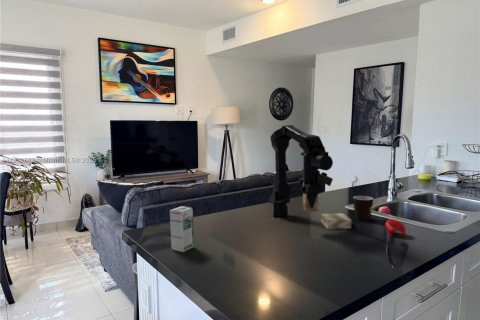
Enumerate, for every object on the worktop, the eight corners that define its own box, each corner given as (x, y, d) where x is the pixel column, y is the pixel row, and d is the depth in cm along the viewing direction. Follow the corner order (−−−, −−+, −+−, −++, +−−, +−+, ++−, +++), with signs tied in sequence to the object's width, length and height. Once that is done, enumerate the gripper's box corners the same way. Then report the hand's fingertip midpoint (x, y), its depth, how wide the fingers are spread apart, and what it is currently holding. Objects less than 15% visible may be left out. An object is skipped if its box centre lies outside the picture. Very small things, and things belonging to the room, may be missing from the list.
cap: (382, 228, 125) (397, 222, 122) (382, 219, 130) (396, 213, 127) (394, 243, 126) (409, 238, 123) (393, 234, 131) (408, 228, 128)
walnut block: (305, 211, 129) (305, 196, 128) (302, 208, 134) (302, 193, 133) (318, 211, 129) (318, 196, 128) (314, 208, 134) (315, 193, 133)
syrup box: (183, 252, 112) (182, 211, 110) (170, 249, 115) (169, 209, 113) (194, 247, 117) (193, 207, 115) (181, 244, 120) (180, 205, 118)
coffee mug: (363, 223, 142) (364, 200, 141) (348, 218, 150) (349, 197, 149) (381, 219, 148) (382, 197, 147) (366, 215, 155) (367, 194, 154)
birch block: (327, 229, 136) (327, 220, 135) (320, 222, 146) (321, 213, 145) (351, 229, 136) (351, 219, 135) (343, 222, 146) (343, 213, 145)
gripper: (338, 170, 120) (337, 211, 122) (324, 164, 139) (323, 200, 141) (308, 170, 120) (307, 212, 122) (298, 164, 139) (298, 200, 140)
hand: (310, 205), depth 131 cm, fingers closed on walnut block, 5 cm apart
